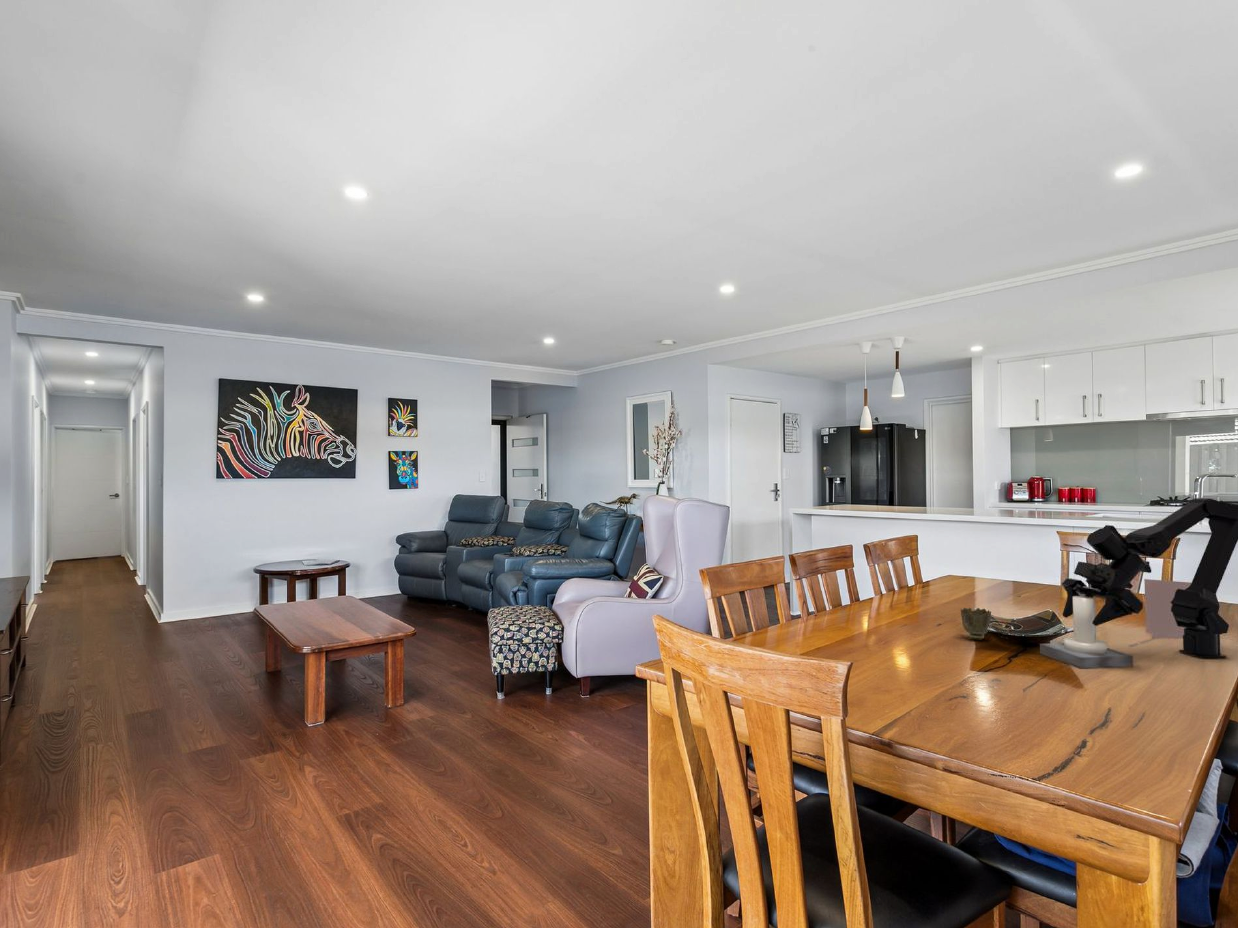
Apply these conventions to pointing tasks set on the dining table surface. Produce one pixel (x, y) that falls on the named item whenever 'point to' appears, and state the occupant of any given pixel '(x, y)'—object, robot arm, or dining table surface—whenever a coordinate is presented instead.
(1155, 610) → the greeting card
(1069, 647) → the cream cylindrical piece
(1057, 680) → the dining table surface
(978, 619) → the cup
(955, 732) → the dining table surface
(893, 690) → the dining table surface
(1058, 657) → the grey block
